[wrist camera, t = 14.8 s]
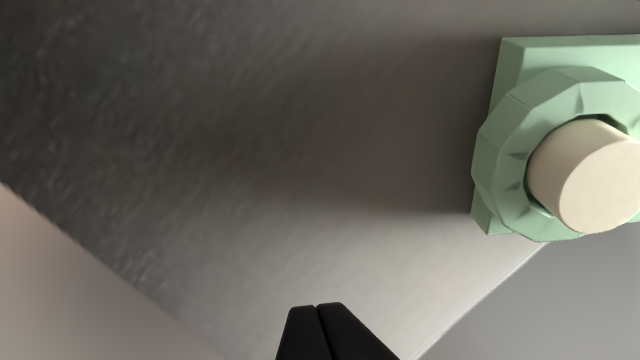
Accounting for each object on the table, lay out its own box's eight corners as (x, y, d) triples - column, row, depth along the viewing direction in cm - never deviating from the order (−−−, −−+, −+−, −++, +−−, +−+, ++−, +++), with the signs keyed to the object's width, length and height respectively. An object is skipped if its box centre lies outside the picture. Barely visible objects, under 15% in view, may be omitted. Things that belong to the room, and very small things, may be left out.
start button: (517, 208, 19) (547, 239, 18) (537, 120, 18) (572, 144, 16) (602, 201, 20) (639, 230, 18) (629, 115, 18) (673, 137, 16)
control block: (443, 217, 23) (476, 264, 20) (470, 37, 19) (516, 62, 16) (680, 197, 25) (745, 238, 22) (748, 31, 21) (837, 51, 18)
